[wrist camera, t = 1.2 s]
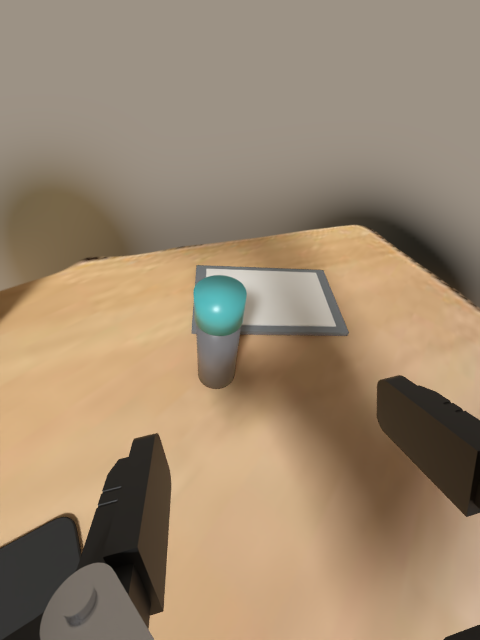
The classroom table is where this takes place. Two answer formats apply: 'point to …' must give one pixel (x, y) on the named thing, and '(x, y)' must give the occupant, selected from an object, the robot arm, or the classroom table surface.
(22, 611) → the phone
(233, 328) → the marker
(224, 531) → the classroom table surface
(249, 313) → the mat
